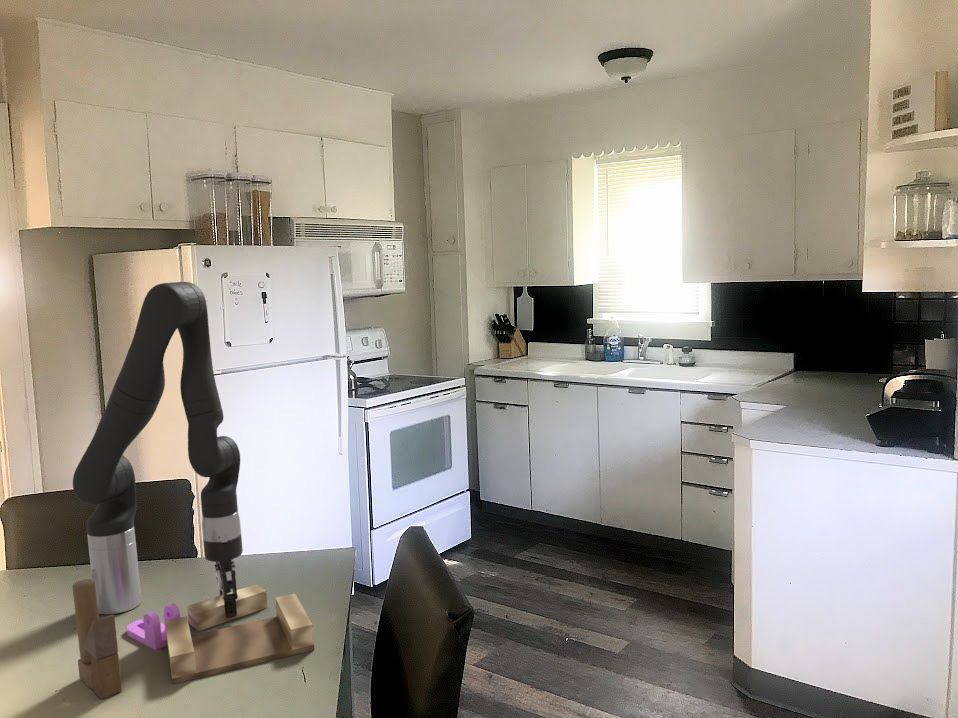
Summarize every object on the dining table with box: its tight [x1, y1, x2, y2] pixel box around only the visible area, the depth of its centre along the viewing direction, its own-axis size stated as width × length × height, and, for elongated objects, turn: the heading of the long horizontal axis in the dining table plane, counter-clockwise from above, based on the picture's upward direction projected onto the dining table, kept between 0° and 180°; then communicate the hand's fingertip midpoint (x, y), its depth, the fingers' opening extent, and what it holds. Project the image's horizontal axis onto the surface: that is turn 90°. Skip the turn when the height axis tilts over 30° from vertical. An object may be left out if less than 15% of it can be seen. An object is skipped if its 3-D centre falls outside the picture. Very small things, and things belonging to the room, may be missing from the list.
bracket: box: [126, 603, 181, 651], centre depth 157 cm, size 13×6×7 cm, turn 51°
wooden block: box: [72, 578, 123, 700], centre depth 139 cm, size 4×11×18 cm, turn 45°
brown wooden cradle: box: [164, 593, 315, 685], centre depth 151 cm, size 25×16×5 cm, turn 114°
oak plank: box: [187, 583, 269, 632], centre depth 166 cm, size 15×5×4 cm, turn 131°
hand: (228, 608), depth 166 cm, fingers open, 8 cm apart
